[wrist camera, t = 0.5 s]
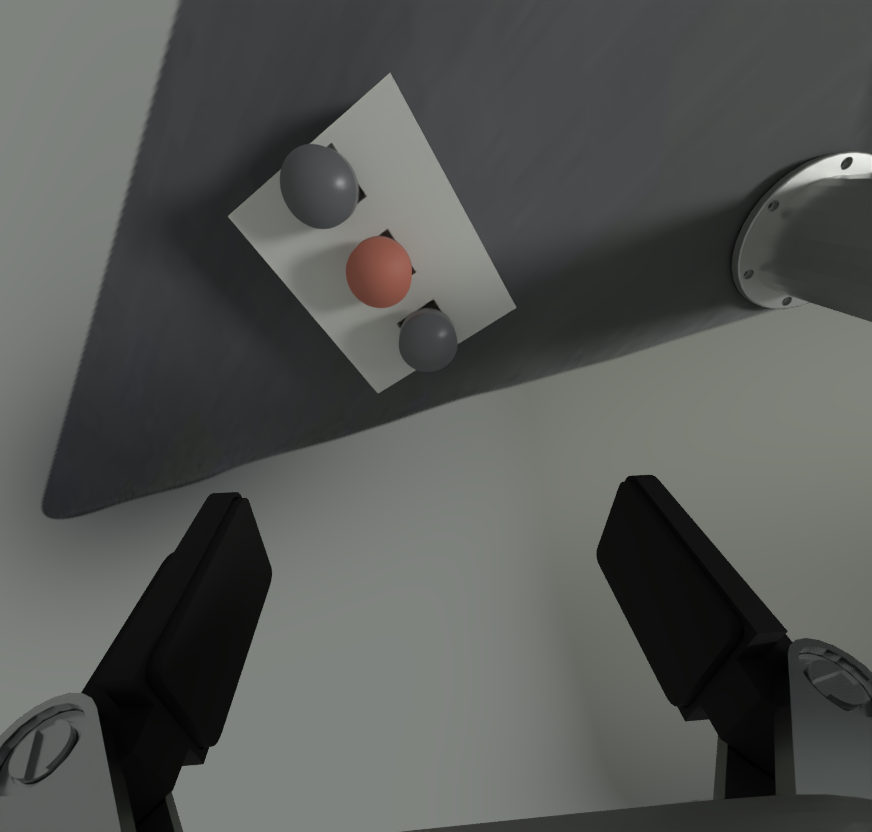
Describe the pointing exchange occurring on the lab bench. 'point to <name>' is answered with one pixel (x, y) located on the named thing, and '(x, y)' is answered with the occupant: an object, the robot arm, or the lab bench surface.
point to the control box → (380, 216)
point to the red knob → (379, 272)
